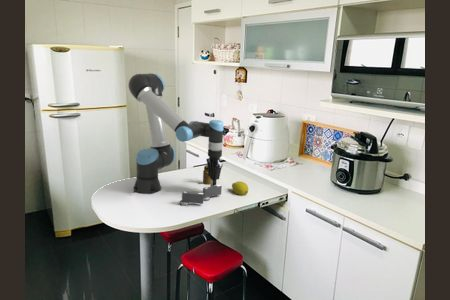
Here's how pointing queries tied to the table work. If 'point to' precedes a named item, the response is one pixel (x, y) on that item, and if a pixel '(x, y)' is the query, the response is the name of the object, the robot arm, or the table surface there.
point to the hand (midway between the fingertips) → (212, 189)
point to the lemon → (240, 188)
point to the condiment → (206, 176)
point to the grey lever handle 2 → (211, 192)
